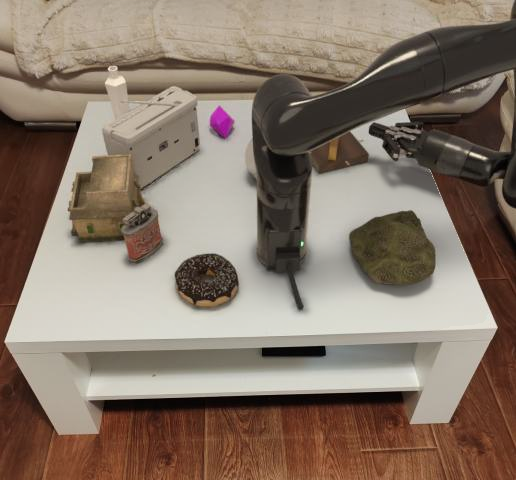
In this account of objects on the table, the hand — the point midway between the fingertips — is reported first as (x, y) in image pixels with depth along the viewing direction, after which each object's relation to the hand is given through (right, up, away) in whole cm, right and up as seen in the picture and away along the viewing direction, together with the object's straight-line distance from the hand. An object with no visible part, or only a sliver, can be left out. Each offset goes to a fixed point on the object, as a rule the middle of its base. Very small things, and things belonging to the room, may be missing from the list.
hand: (370, 127), depth 121 cm
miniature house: (-54, -21, -6) cm, 58 cm away
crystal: (-32, +4, +13) cm, 35 cm away
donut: (-33, -36, -17) cm, 52 cm away
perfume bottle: (-55, +4, +13) cm, 57 cm away
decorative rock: (+1, -31, -14) cm, 34 cm away
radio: (-46, -7, +5) cm, 47 cm away
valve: (-21, -5, +6) cm, 22 cm away
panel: (-7, -4, +7) cm, 10 cm away
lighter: (-46, -28, -11) cm, 55 cm away
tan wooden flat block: (-7, -2, +5) cm, 9 cm away
